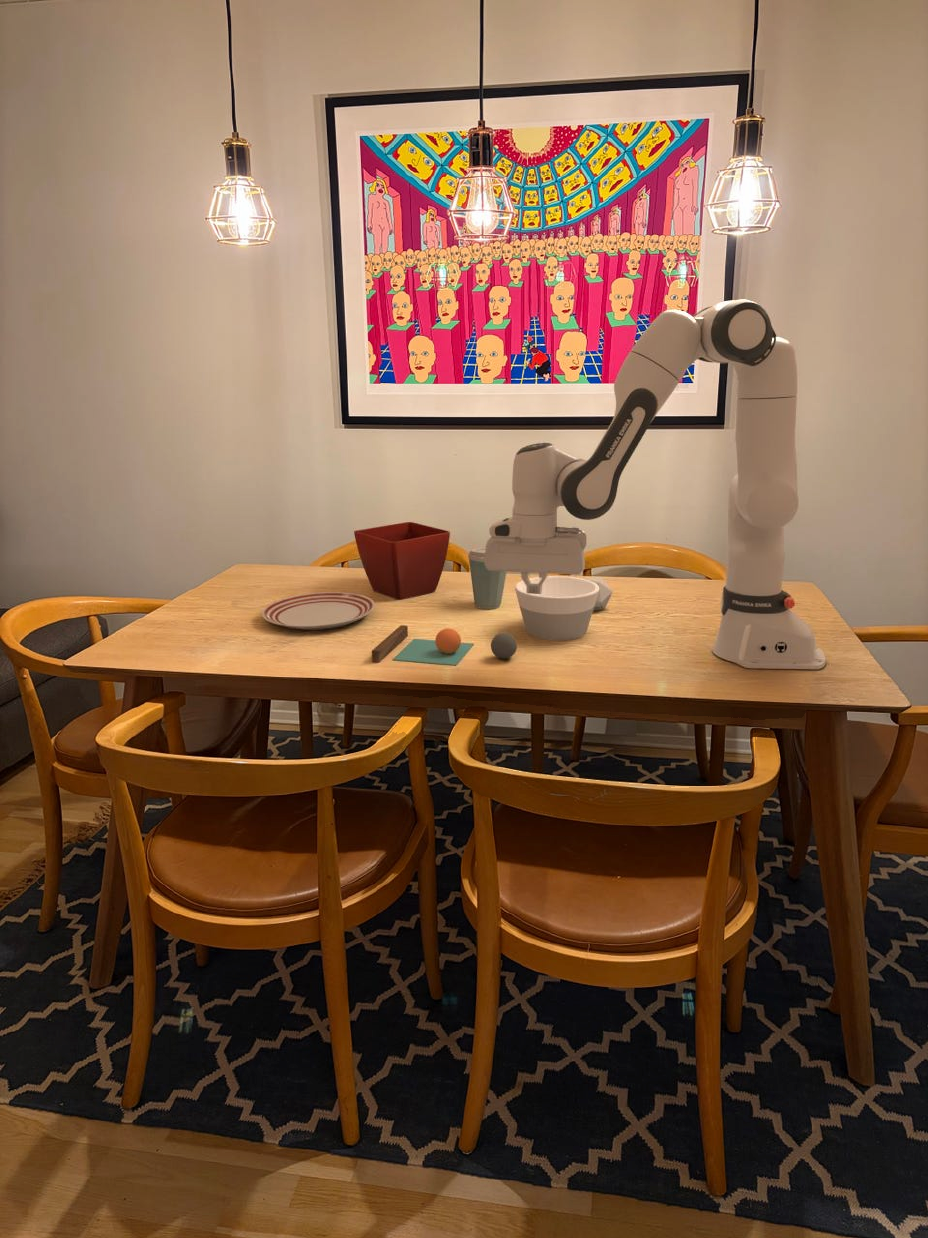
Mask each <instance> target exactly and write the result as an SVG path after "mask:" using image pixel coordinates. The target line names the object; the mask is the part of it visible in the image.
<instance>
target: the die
mask: <svg viewBox="0 0 928 1238" xmlns="http://www.w3.org/2000/svg"><path fill="white" fill-rule="evenodd" d="M583 579H585V580H589V581H591V582H594V583H596V584H597V585H598V586H599V592H598V596H597V599H596V603H595V606H594V609H593V611H600V610H601V611H602V610H606V607H607V605H608V603H609V601H610V599H611V596H612V594H613V593H614V592H613V590H612V589H611V587H610V586H609V585H608V584H607V583H606V581H605V580H604V579H603V578H602V576H597V577H589V578H588V577H587V578H585V577H584V578H583Z"/></svg>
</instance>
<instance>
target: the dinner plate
mask: <svg viewBox="0 0 928 1238" xmlns="http://www.w3.org/2000/svg"><path fill="white" fill-rule="evenodd" d="M375 603H376V602H375V601H374V600H373V599H372V598H370V597H368V596H365V595H362V594H359V593H358V594H357V593H353V592H341V591H322V592H311V593H304V594H297V595H293V596H289V597H284V598H282V599H278V600H276V601H274V602H271V603H270V604H268V605H267V606H265V607H264V608H263V609H262V610H261V616H262V618H263V619H264V620H265V621H267V622H268V623H270V624H274V625H278V626H280V627H285V628H289V629H295V630H302V631H303V630H305V631H318V630H326V629H327V630H329V629H336V628H340V627H343V626H346V625H348V624H352V623H354V622H357V621H359V620H361V619H363V618H365V617H367V616H368V615H370V614H371V612H373V611H374V609H375V607H376V604H375Z"/></svg>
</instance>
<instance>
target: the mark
mask: <svg viewBox="0 0 928 1238" xmlns="http://www.w3.org/2000/svg"><path fill="white" fill-rule="evenodd" d="M473 646H474V643H472V642H470V643H469V642H461V644H460V647H459V649H458V650H457V651H456V652H454V653H452V654H445V653H442V652H441V651H439V650H438V648H437V646H436V643H435V640H434V639H423V638H413V639H412V640H411V641H410V642H409V643H408V644H407V645H406V646H405V647H403V649H402V650H401V651H400V652H398V654H397V655H395V656H394V657H393V658H392V661H399V662H411V663H422V664H430V665H431V664H433V665H441V664H442V665H441V666H443V665H444V666H453V665H454V667H455V666H456V665H457V666H458V664H459V663H460V662H461V661H462V660H463V658H465V656H466V654H467V653H468V652H469V651H470V650H471V649H472V647H473ZM457 666H456V667H457Z"/></svg>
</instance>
